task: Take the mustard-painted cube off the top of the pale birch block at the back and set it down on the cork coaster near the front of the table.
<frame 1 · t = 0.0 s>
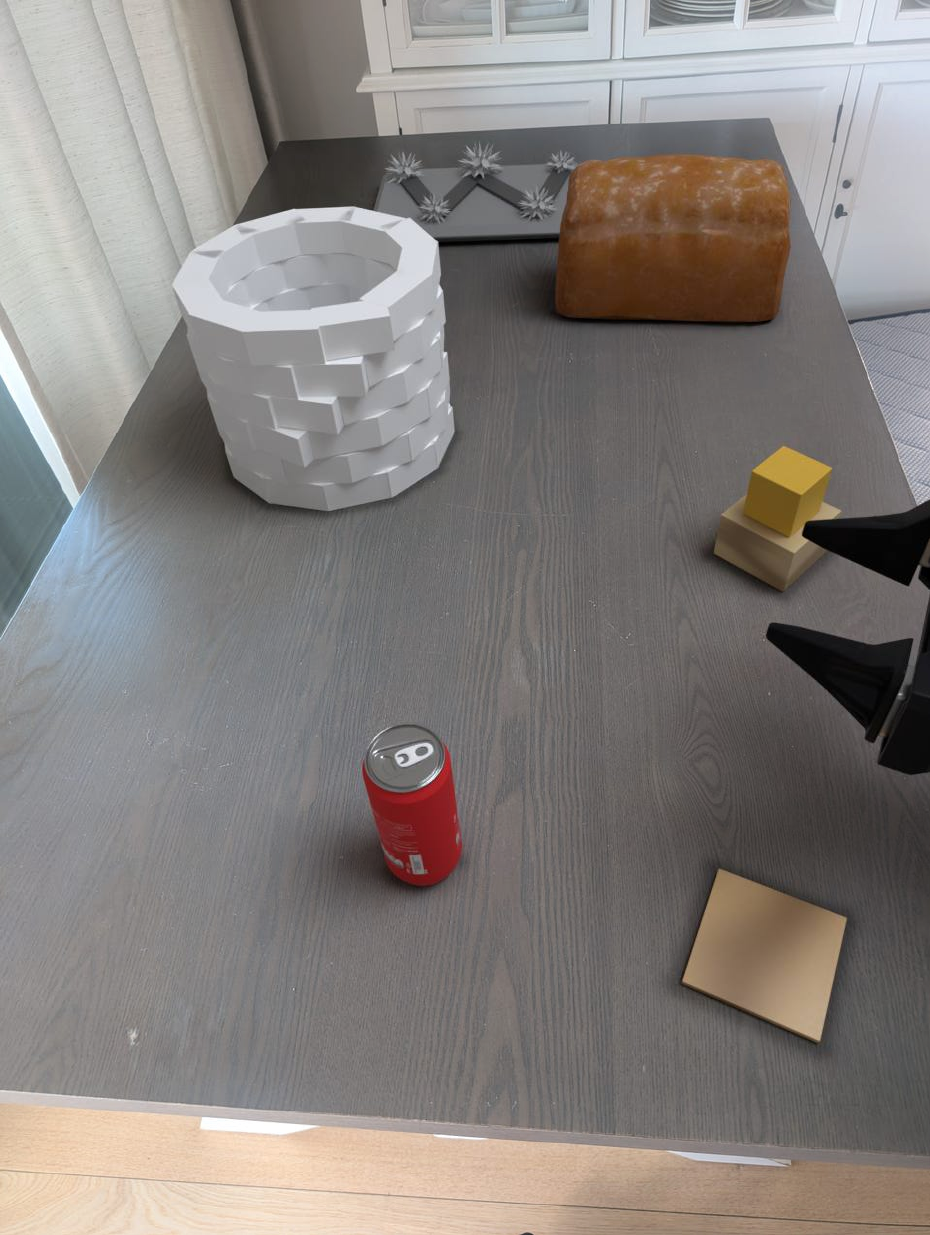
hand: (786, 576, 53), 16 cm above the table, tool horizontal, fingers open, 9 cm apart
mustard cube: (780, 512, 74), point 4 cm above the table, touching birch block
decorative plate: (480, 213, 128), on the table
basket: (342, 441, 93), on the table
beverage can: (425, 857, 60), on the table
cork coaster: (764, 951, 54), on the table
birch block: (770, 551, 78), on the table, touching mustard cube
bread: (664, 298, 108), on the table
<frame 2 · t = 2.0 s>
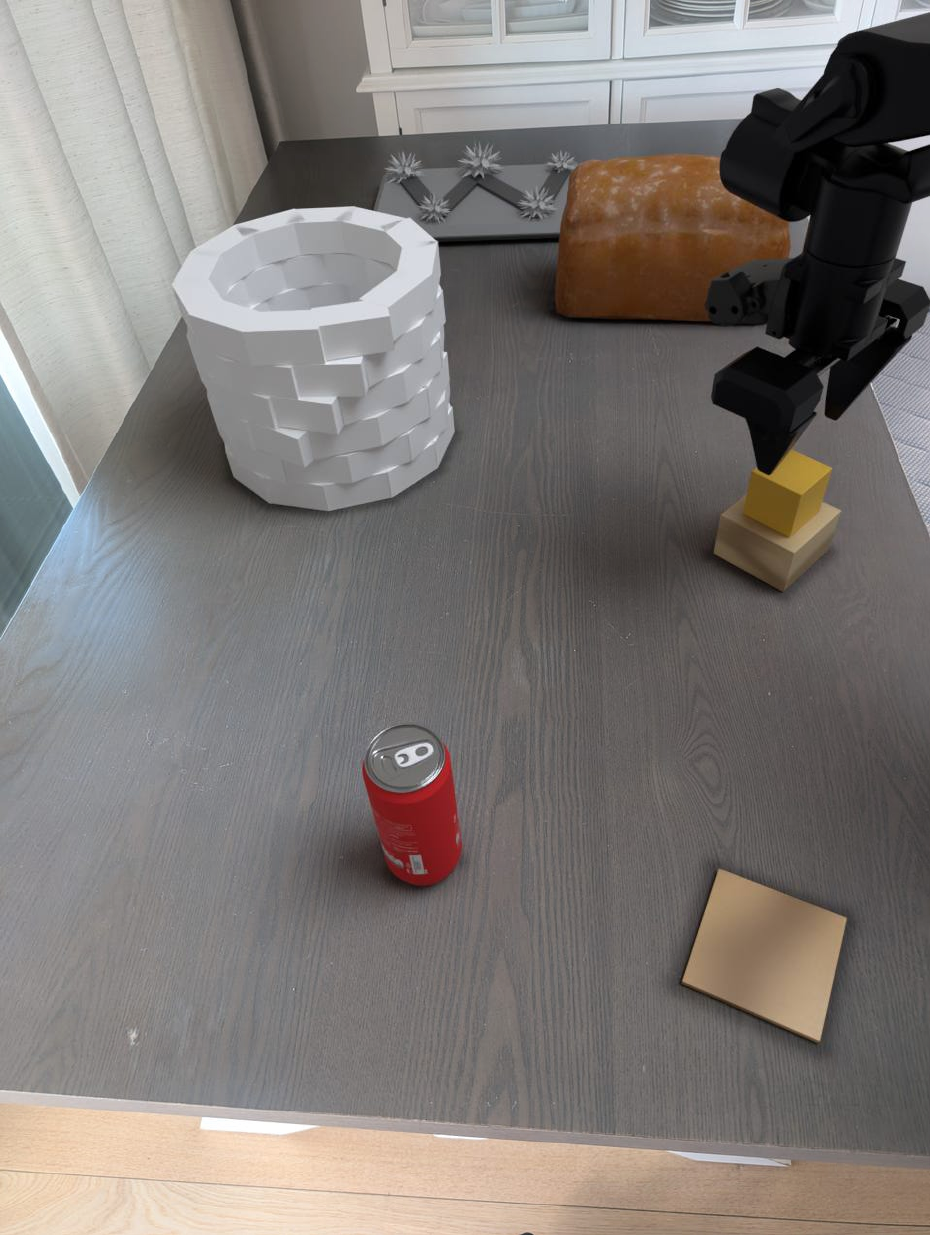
hand: (798, 444, 69), 11 cm above the table, tool pointing down, fingers open, 9 cm apart
nothing on the table moved.
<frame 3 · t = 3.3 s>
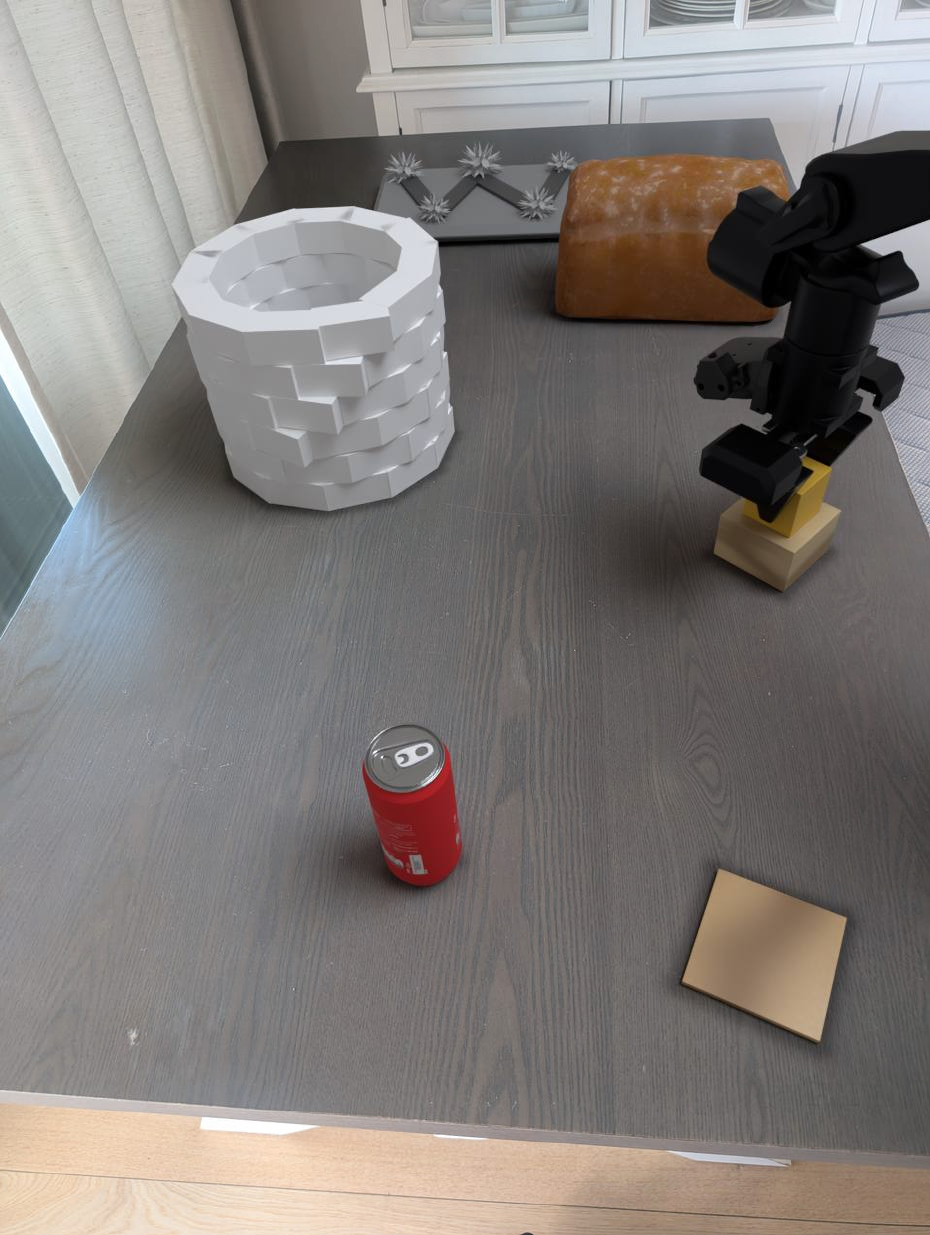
hand: (782, 505, 74), 5 cm above the table, tool pointing down, fingers closed on mustard cube, 4 cm apart
mustard cube: (780, 512, 74), point 5 cm above the table, touching birch block, gripper
everything else where it was.
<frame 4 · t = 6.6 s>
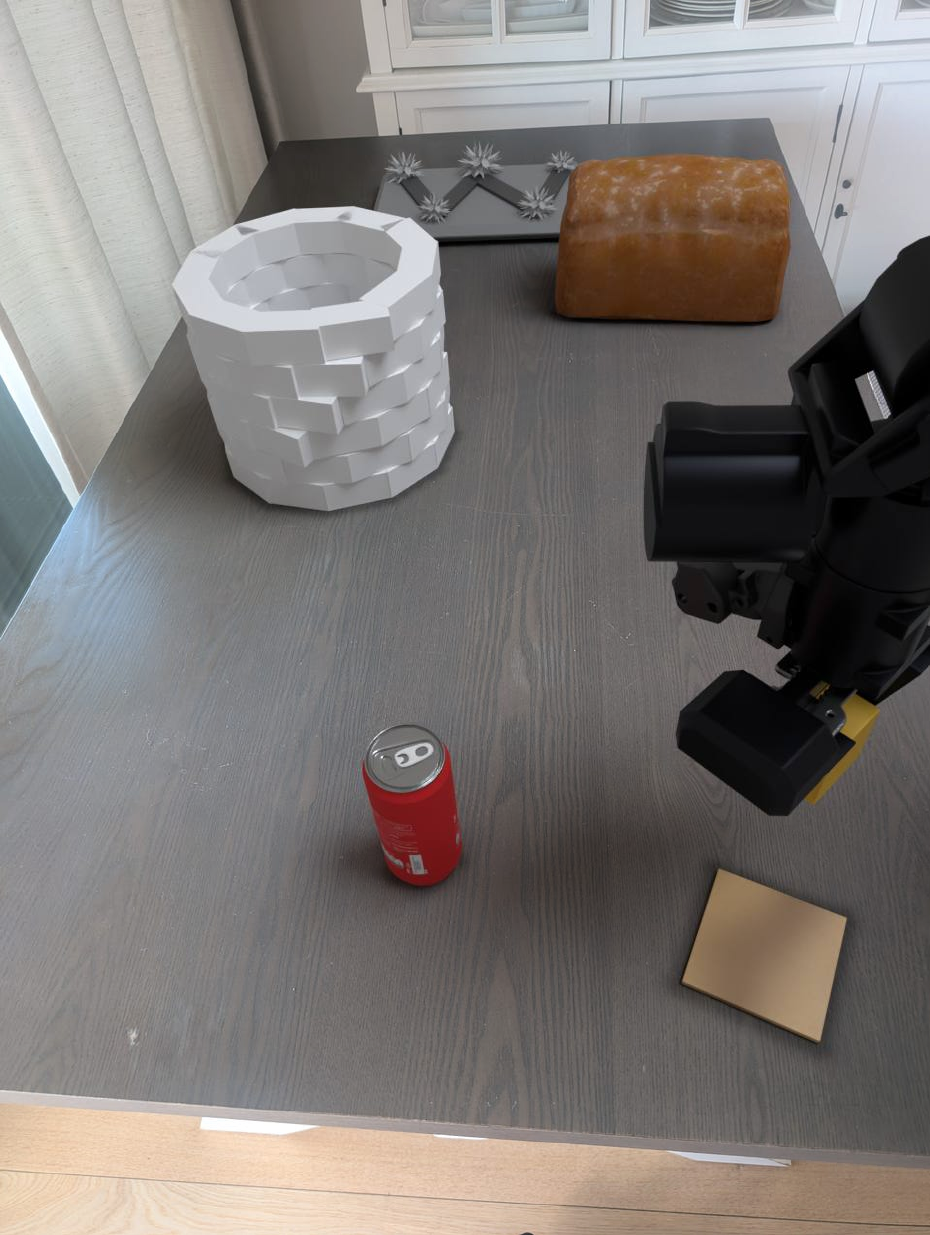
hand: (804, 750, 50), 12 cm above the table, tool pointing down, fingers closed on mustard cube, 4 cm apart
mustard cube: (800, 756, 51), point 11 cm above the table, touching gripper
birch block: (770, 551, 78), on the table
everything else where it was.
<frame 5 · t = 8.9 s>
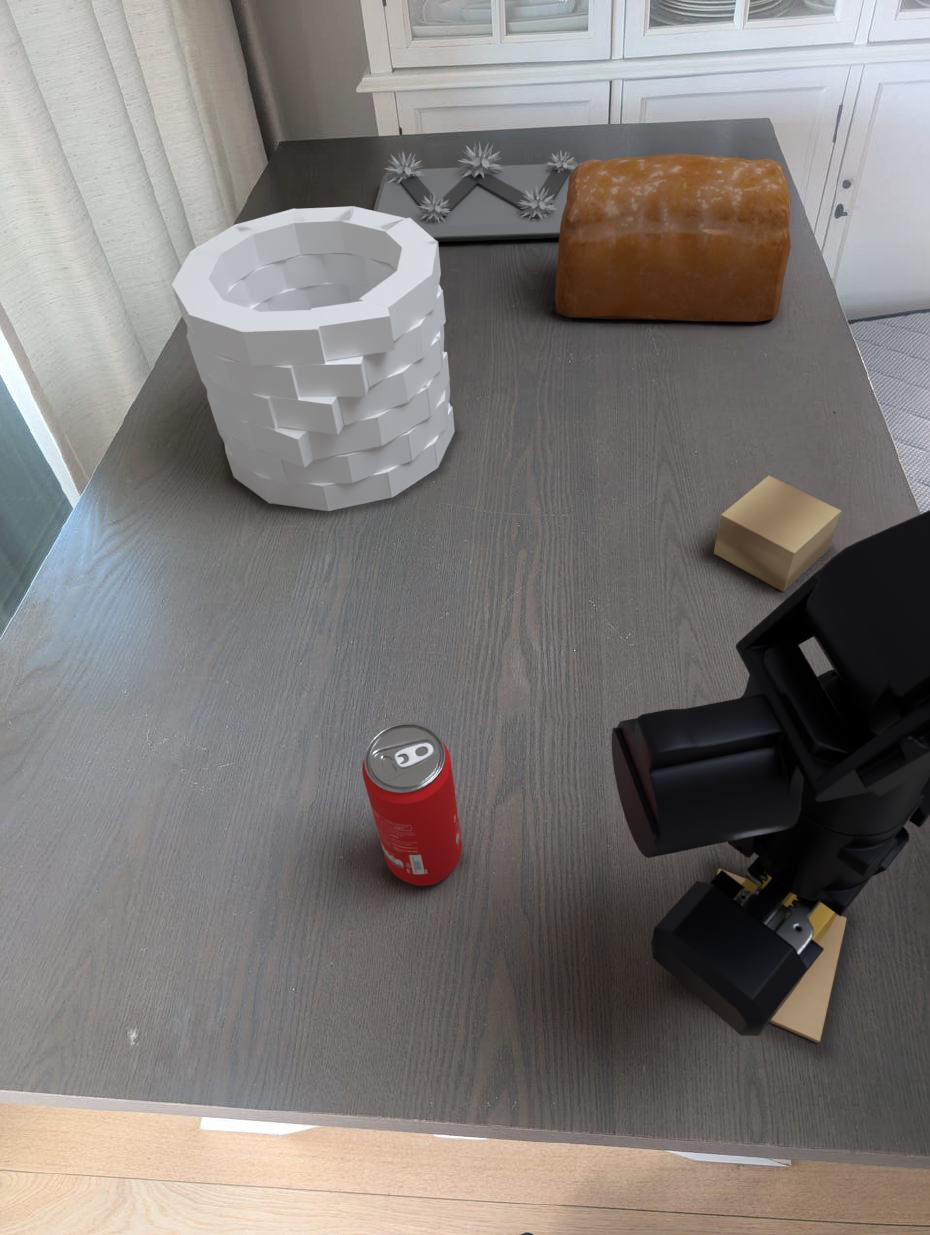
hand: (777, 925, 52), 4 cm above the table, tool pointing down, fingers closed on mustard cube, 4 cm apart
mustard cube: (774, 929, 52), point 3 cm above the table, touching gripper
everything else where it was.
when the fingers open (1 cm above the table, at t = 10.1 s): mustard cube stays where it is, resting on cork coaster.
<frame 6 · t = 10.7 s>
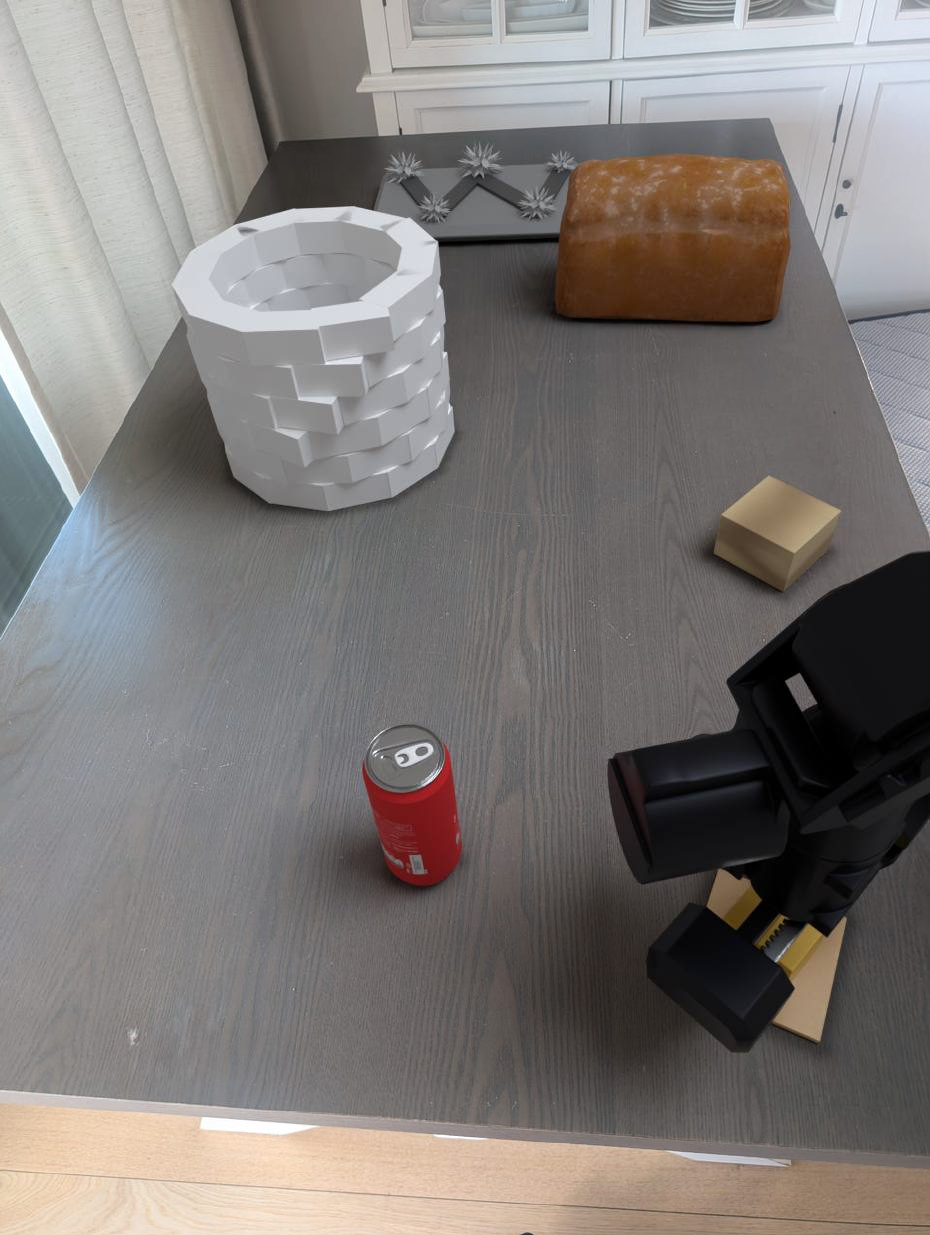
hand: (768, 942, 53), 1 cm above the table, tool pointing down, fingers open, 9 cm apart
mustard cube: (765, 947, 54), resting on cork coaster
everything else where it was.
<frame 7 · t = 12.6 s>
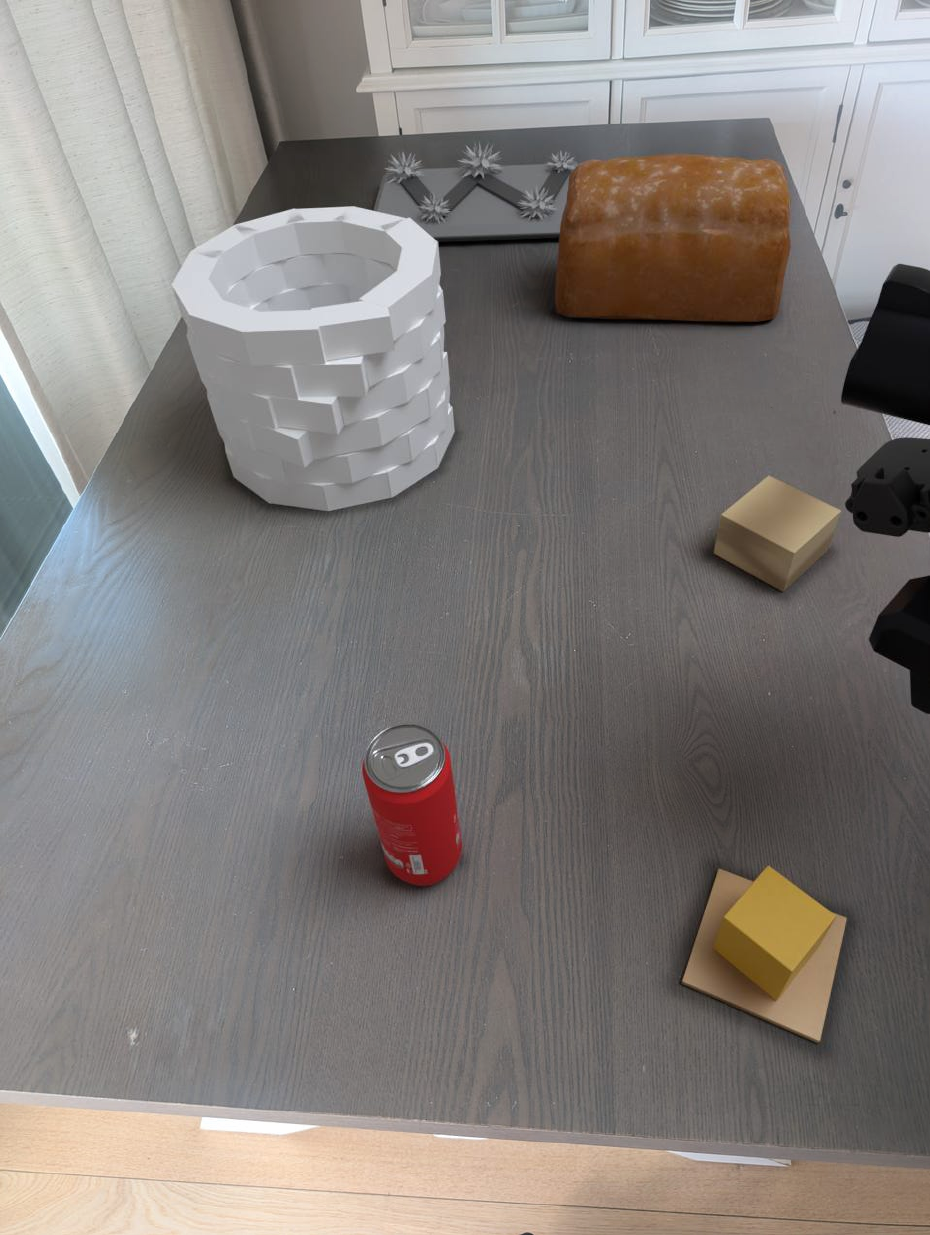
nothing on the table moved.
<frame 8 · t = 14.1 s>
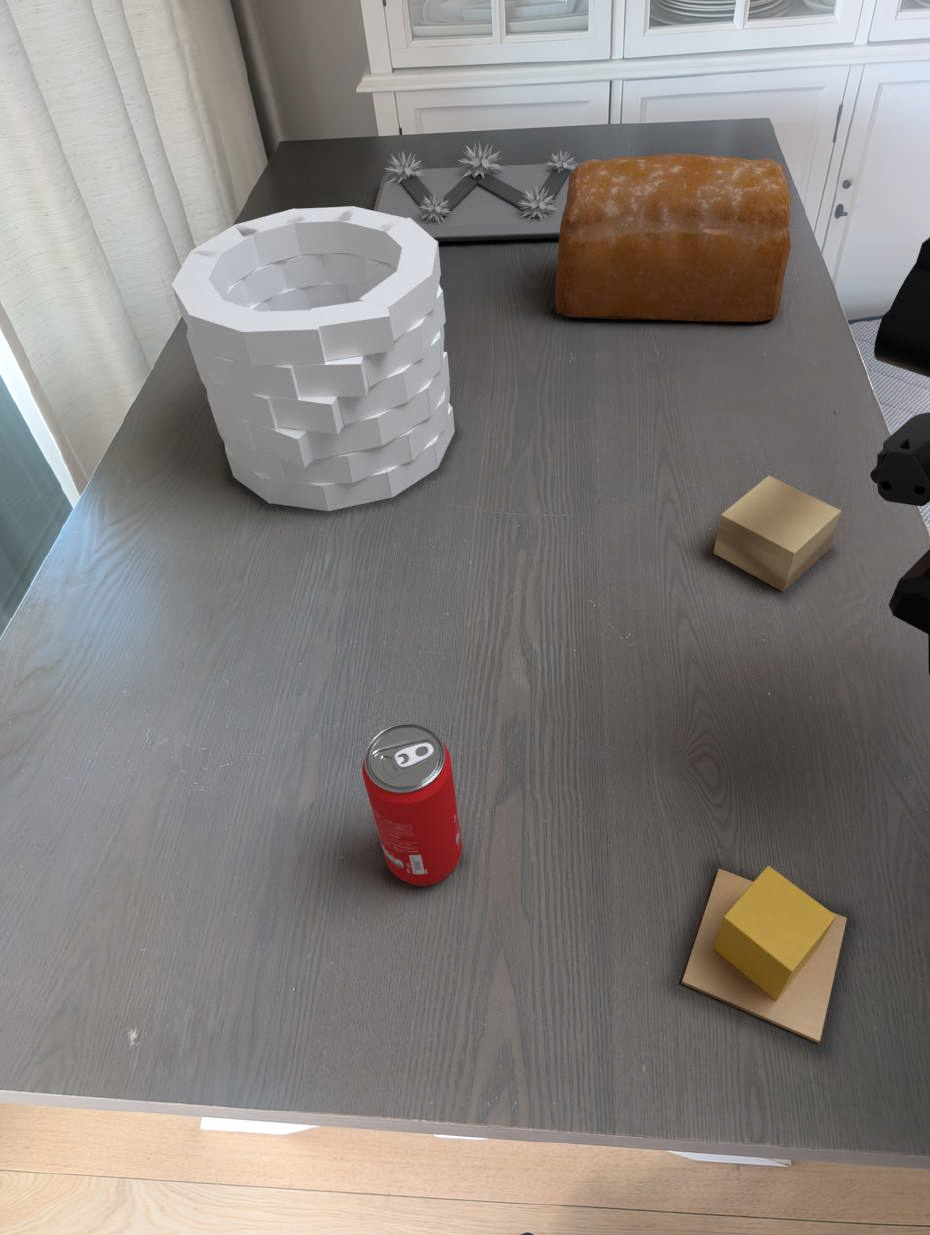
nothing on the table moved.
at the end: mustard cube 0.1 cm off-centre on the cork coaster, point 0.4 cm above the cork coaster's base; mustard cube touching cork coaster; birch block moved 0.0 cm from its start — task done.
